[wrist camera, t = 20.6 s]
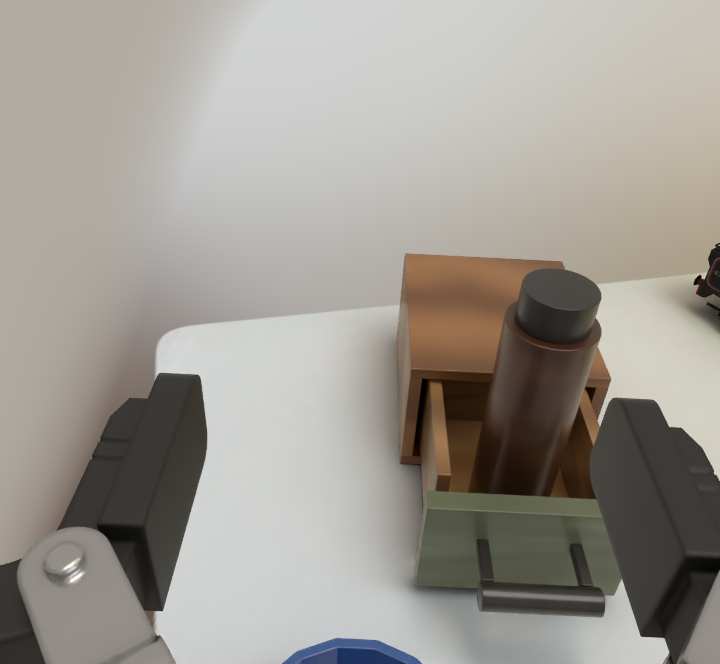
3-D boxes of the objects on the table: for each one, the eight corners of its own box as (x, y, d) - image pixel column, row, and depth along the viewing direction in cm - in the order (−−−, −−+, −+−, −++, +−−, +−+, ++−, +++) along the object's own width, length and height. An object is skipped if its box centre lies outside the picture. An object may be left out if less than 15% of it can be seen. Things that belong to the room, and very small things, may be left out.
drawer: (634, 663, 36) (675, 587, 31) (417, 652, 35) (431, 575, 31) (563, 429, 50) (585, 356, 46) (408, 421, 50) (416, 347, 46)
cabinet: (579, 472, 47) (611, 379, 42) (399, 463, 47) (410, 368, 42) (540, 346, 59) (562, 261, 54) (396, 338, 59) (404, 252, 54)
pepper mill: (471, 533, 40) (520, 313, 31) (463, 472, 44) (505, 260, 35) (551, 537, 40) (625, 318, 31) (536, 476, 44) (598, 265, 35)
